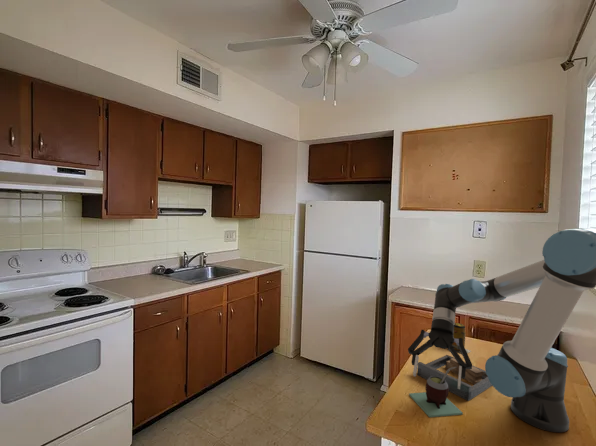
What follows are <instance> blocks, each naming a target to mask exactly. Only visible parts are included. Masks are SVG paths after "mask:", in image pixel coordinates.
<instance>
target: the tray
mask: <svg viewBox="0 0 596 446" xmlns="http://www.w3.org/2000/svg"><path fill="white" fill-rule="evenodd" d="M451 358H454V357H453V356H450V355H449V354H446V355H443V356H441V357H438V358H436V359H434V360H432V361H430V362H427V363H424V362H421V361H418V366H417V372H416V376H419V377H420V378H422V379H424V380H426V381H427V380H428V378H429V377H431V376H438V377H441V378H443V377H444V375H445V373H446V372H443V371H441V370H439V368H442V367H444V366H446V363H447V361H450V359H451ZM472 366H473V367H475V368H477V369H479V370H481V371H483V375H482V378H481V379H483V380H481V381H480V382H478V383H477V384H475V385H474V384H472V385H471V384H468V383H467V382H464V381H462V380H461V385H460V389H458V378H455V377H453V376H451V375H449V374H447V375H446V377H445V379H444V380H445V381H446V382H447V384H448V388H449V392H450V393H452V394H453V395H456V396H458V397H460V398H461V399H463V400H465V401H467V402H469V401H471V400H472V399H474V398H475V397H477V396H479V395H480V394H482V393H484V392H485V391H486V390H488V389H489V388H491V387H493V386H492V384H491V383H490V381H489V379H488V376H487V374H486V371H485V369H481V368H480V367H477V366H475V365H473V364H472ZM449 392H448V393H449Z"/></svg>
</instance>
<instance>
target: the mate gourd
mask: <svg viewBox="0 0 596 446" xmlns="http://www.w3.org/2000/svg"><path fill="white" fill-rule="evenodd" d="M456 367H457V366H456ZM456 367H452V368H449V369H447V368H446V371H445V372H444V373H445V375H444V377H443V378H441V377H438V376H431V377H429V378H428V380H426V384H425V392H426V396H427V400H426V402H427V403H435V404H436V406H437V408H438V409H440V406H439V405H440V404H444V405H446V402H445V401H446V399H448V396H449V388H448V384H447V382H446V381H445V380H444V379H445V377H446V375H449V372H450V370H451V369H454V368H456Z"/></svg>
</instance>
